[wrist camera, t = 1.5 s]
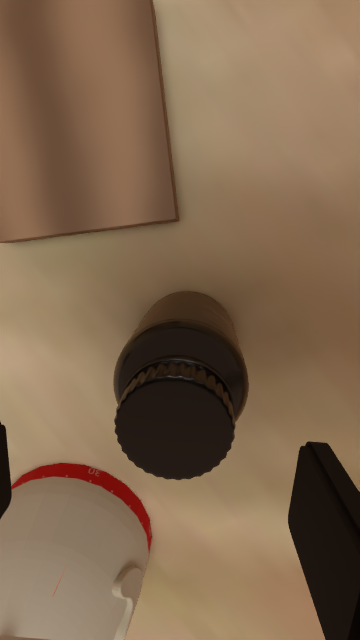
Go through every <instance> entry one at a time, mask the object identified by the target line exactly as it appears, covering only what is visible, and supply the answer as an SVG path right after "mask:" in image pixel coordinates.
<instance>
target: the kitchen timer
mask: <svg viewBox="0 0 360 640" xmlns="http://www.w3.org/2000/svg"><path fill="white" fill-rule="evenodd" d="M11 490H12V498H11V502H10V505H9V507H8V508H7V510H6V511H5V513H4V514H3V516H2V517H1V519H0V635H1V636H14V637H26V638H38V639H50V640H125V637H126V634H127V631H128V627H129V624H130V621H131V618H132V615H133V613H134V610H135V607H136V604H137V601H138V598H139V595H140V592H141V587H142V580H143V577H144V573H145V570H146V565H147V560H148V556H149V551H150V545H151V538H152V534H151V527H150V520H149V517H148V515H147V513H146V511H145V509H144V507H143V505H142V503H141V501H140V500H139V498H138V497H137V496H136V495H135V494H134V493H133V492H132V491H131V490H130V489H129V488H128V487H127V486H126V485H125V484H124V483H122V482H121V481H119V480H118V479H116V478H114V477H113V476H111V475H110V474H108V473H107V472H104V471H101V470H98V469H95V468H92V467H89V466H86V465H79V464H67V463H59V464H53V465H47V466H41V467H39V468H37V469H35V470H33V471H30V472H28V473H26V474H24V475H22V476H21V477H20V478H19V479H18V480H17V481H16V482H15V483H14V484H13V485H12V486H11Z"/></svg>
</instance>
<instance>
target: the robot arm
mask: <svg viewBox="0 0 360 640" xmlns="http://www.w3.org/2000/svg"><path fill="white" fill-rule="evenodd" d="M11 498H12V490H11V480H10V469H9V458H8V448H7V437H6V428H5V426H4V425H1V422H0V519H1V517H2V516H3V514H4V513H5V511H6V510H7V508H8V507H9V505H10V502H11ZM288 524H289V529H290V533H291V536H292V539H293V542H294V545H295V548H296V551H297V554H298V557H299V560H300V563H301V566H302V569H303V572H304V575H305V578H306V581H307V584H308V587H309V591H310V594H311V597H312V600H313V603H314V606H315V609H316V612H317V615H318V618H319V621H320V624H321V627H322V630H323V633H324V636H325V639H326V640H360V492H359V491H358V489H357V488H356V486H355V485H354V483H353V482H352V480H351V478H350V477H349V475H348V474H347V472H346V471H345V469H344V468H343V466H342V465H341V463H340V461H339V460H338V458H337V457H336V455H335V454H334V452H333V451H332V449H331V448H330V446H329V445H328V444H327V443H321V442H307V443H306V445H305V446H301V447H300V450H299V455H298V461H297V467H296V473H295V479H294V485H293V490H292V496H291V502H290V508H289V514H288ZM0 640H50V639H38V638H26V637H14V636H1V635H0Z"/></svg>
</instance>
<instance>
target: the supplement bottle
mask: <svg viewBox="0 0 360 640" xmlns="http://www.w3.org/2000/svg"><path fill="white" fill-rule="evenodd" d="M248 389H249V382H248V374H247V368H246V365H245V362H244V358H243V355H242V352H241V349H240V346H239V343H238V339H237V336H236V333H235V330H234V327H233V324H232V322H231V319H230V317H229V315H228V314H227V312H226V311H225V310H224V308H223V307H222V306H221V305H220V304H219V303H218V302H216V301H215V300H213V299H212V298H210V297H208V296H206V295H203V294H200V293H196V292H178V293H174V294H171V295H168V296H166V297H164V298H162V299H161V300H159V301H158V302H157V303H156V304H155V305H154V306H153V307H152V308H151V309H150V310H149V311H148V313H147V314H146V315H145V317H144V318H143V320H142V321H141V323H140V324H139V326H138V327H137V329H136V330H135V332H134V333H133V335H132V336H131V338H130V339H129V341H128V342H127V344H126V345H125V347H124V348H123V350H122V352H121V354H120V356H119V358H118V361H117V363H116V367H115V371H114V393H115V397H116V401H117V404H118V407H117V410H116V412H117V414H116V417H115V420H114V421H115V425H116V427H115V433H116V434H117V436H118V438H117V440H118V443H119V444H120V445H121V447H122V451H123V452H124V453H125V454H127V457H128V459H129V460H131V461H132V462H134V463H135V465H136V466H137V467H139V468H142V469H143V470H144V471H145V472H146V473H150V474H153V475H154V476H156V477H163V478H165V479H176V480H181V479H191V478H193V477H197V476H201V475H203V474H204V473H206V472H210V471H211V470H212V468H213V467H216V466H218V465H219V464H220V461H221V460H223V459H224V458H226V455H227V452H228V451H229V450H230V449H231V443H232V441H233V440H234V437H235V435H234V430H235V422H236V421H237V420H238V418H239V417H240V415H241V413H242V411H243V409H244V407H245V404H246V401H247V397H248Z"/></svg>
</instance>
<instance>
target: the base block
mask: <svg viewBox="0 0 360 640" xmlns="http://www.w3.org/2000/svg"><path fill="white" fill-rule="evenodd" d="M175 221H179V216H178V207H177V199H176V190H175V181H174V173H173V164H172V156H171V147H170V138H169V130H168V121H167V112H166V104H165V95H164V87H163V78H162V69H161V61H160V52H159V44H158V35H157V26H156V18H155V10H154V5H153V0H0V243H13V242H21V241H28V240H36V239H44V238H52V237H59V236H67V235H75V234H83V233H90V232H98V231H106V230H114V229H121V228H129V227H137V226H144V225H152V224H160V223H168V222H175Z"/></svg>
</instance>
